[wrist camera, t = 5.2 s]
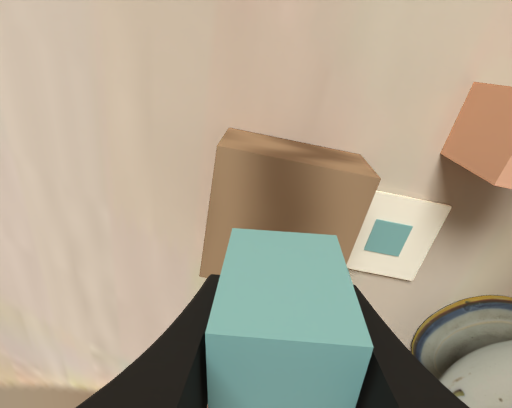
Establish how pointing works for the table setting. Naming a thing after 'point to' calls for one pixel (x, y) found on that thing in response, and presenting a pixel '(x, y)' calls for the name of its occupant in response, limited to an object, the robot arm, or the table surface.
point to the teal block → (285, 325)
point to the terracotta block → (484, 134)
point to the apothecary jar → (470, 350)
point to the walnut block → (284, 192)
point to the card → (397, 235)
